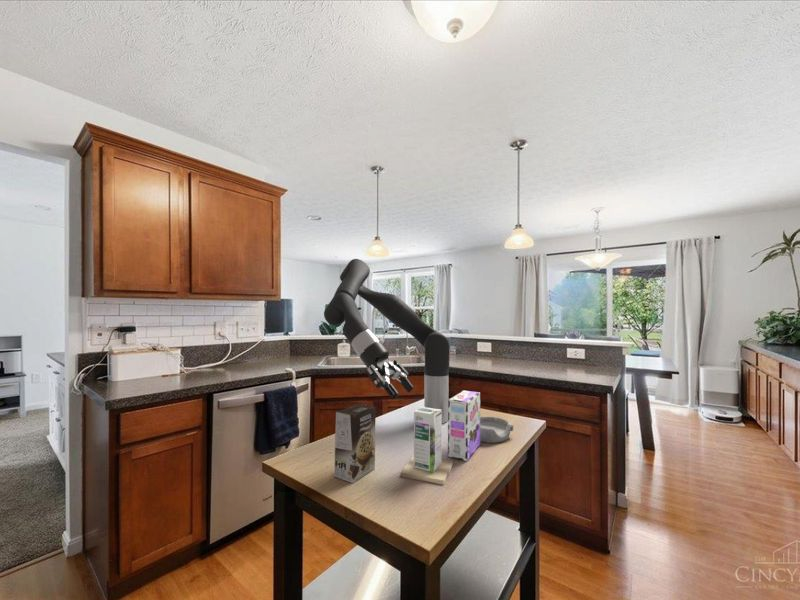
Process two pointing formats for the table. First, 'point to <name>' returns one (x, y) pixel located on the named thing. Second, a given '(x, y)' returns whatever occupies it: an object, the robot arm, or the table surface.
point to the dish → (494, 429)
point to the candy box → (463, 425)
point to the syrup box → (427, 438)
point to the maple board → (423, 475)
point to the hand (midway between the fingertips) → (404, 393)
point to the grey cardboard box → (354, 442)
